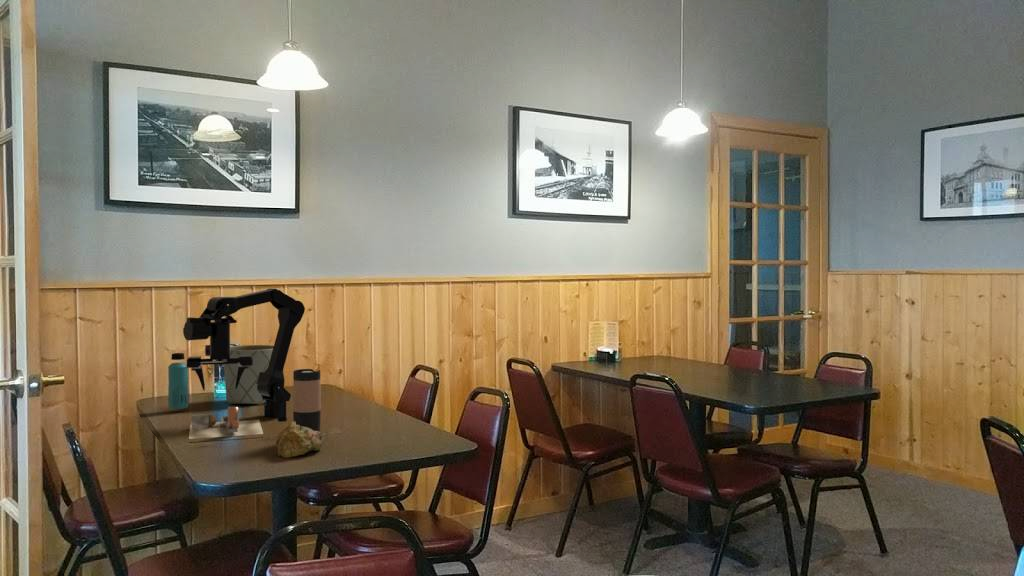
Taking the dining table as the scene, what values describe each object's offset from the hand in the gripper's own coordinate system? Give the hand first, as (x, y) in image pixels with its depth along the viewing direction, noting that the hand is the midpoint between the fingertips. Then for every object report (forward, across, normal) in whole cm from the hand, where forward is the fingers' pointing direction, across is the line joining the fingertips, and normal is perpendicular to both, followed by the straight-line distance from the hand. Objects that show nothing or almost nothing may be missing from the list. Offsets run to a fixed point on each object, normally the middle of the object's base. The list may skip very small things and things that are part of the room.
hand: (220, 389), depth 238 cm
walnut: (+11, +3, +2) cm, 11 cm away
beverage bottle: (+12, +13, -34) cm, 38 cm away
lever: (+10, -2, +8) cm, 13 cm away
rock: (+12, -20, +41) cm, 47 cm away
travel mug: (+12, -23, +25) cm, 36 cm away
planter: (+12, -11, -46) cm, 49 cm away
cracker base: (+12, -2, +7) cm, 14 cm away
